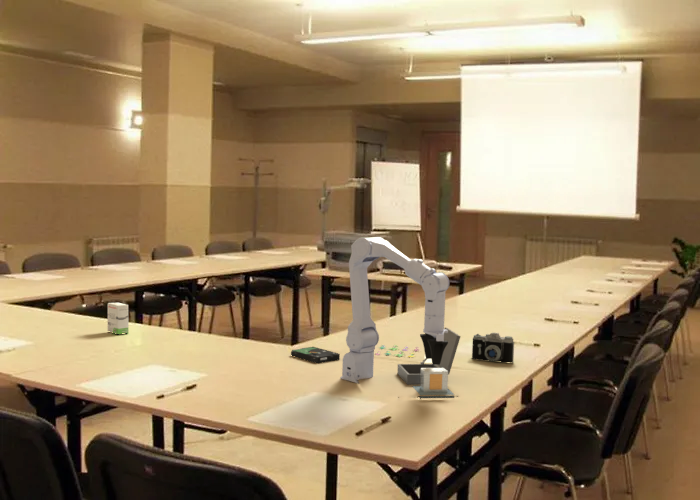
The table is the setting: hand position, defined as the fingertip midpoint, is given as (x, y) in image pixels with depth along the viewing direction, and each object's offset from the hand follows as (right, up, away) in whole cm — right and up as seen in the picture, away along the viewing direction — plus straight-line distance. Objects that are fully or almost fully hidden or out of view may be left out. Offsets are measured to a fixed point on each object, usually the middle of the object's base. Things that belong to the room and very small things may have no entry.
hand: (432, 361), depth 221 cm
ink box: (-115, -1, +80) cm, 140 cm away
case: (0, -8, +15) cm, 17 cm away
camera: (+26, -7, +47) cm, 54 cm away
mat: (0, -9, 0) cm, 9 cm away
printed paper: (-7, -6, +59) cm, 59 cm away
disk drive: (-36, -6, +45) cm, 58 cm away
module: (0, -8, 0) cm, 8 cm away
